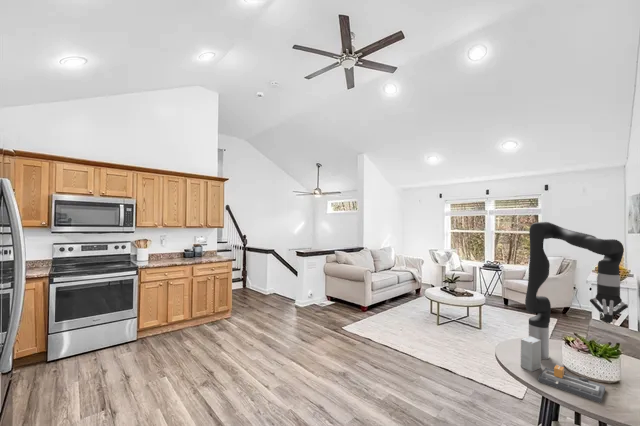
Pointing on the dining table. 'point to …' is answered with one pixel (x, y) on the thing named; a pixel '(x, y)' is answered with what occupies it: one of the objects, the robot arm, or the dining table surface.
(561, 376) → the fader knob
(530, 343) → the skincare box
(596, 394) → the console
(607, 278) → the robot arm
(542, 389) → the dining table surface
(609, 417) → the dining table surface
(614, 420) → the dining table surface
